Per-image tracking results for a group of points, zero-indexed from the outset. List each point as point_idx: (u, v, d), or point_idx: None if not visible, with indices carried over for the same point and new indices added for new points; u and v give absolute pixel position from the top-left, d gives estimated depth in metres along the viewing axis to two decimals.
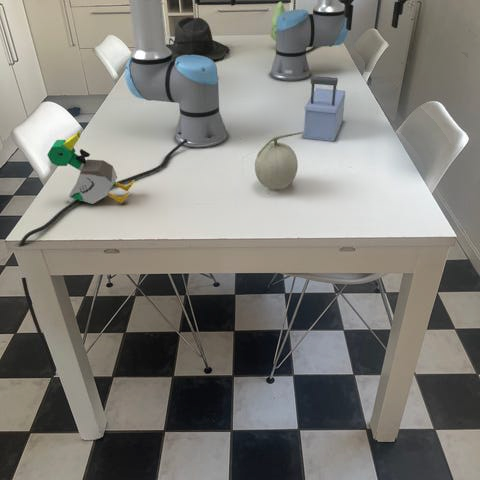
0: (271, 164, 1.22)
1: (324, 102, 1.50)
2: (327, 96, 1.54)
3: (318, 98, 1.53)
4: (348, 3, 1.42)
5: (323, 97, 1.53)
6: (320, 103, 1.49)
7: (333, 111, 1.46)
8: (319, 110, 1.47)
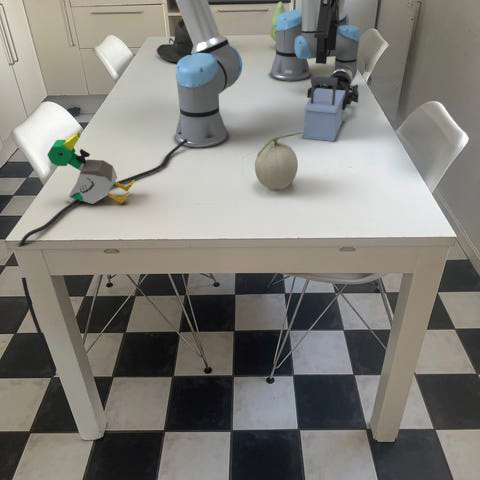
0: (271, 164, 1.22)
1: (324, 102, 1.50)
2: (327, 96, 1.54)
3: (318, 98, 1.53)
4: None
5: (323, 97, 1.53)
6: (320, 103, 1.49)
7: (333, 111, 1.46)
8: (319, 110, 1.47)
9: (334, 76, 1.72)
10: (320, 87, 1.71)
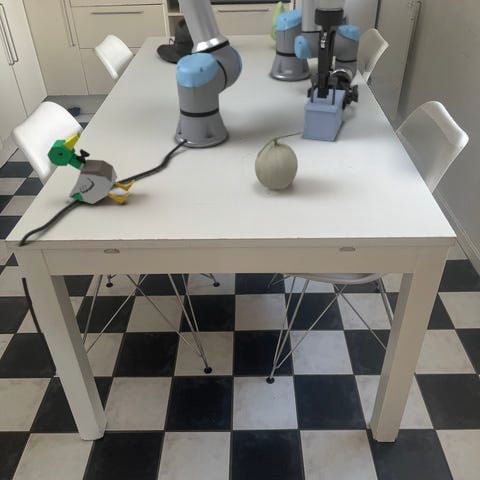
0: (271, 164, 1.22)
1: (324, 102, 1.50)
2: None
3: (318, 98, 1.53)
4: None
5: None
6: (320, 102, 1.49)
7: (333, 110, 1.46)
8: (319, 110, 1.47)
9: (334, 76, 1.72)
10: None
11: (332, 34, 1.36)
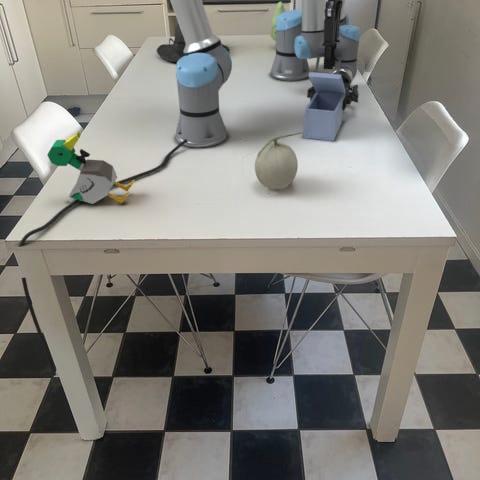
0: (271, 164, 1.22)
1: None
2: None
3: None
4: None
5: None
6: None
7: (337, 77, 1.43)
8: (323, 76, 1.44)
9: None
10: None
11: (338, 3, 1.37)
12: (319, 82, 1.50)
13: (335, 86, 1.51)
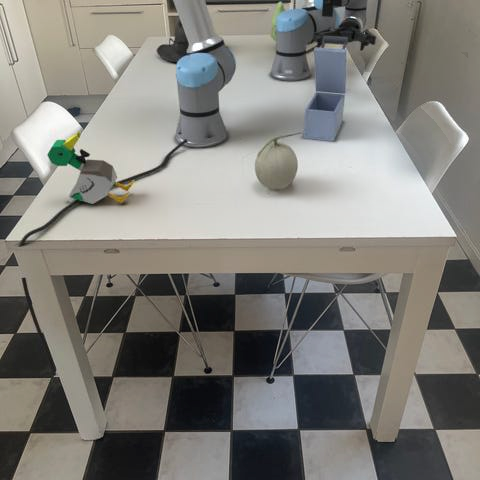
0: (271, 164, 1.22)
1: None
2: None
3: None
4: None
5: None
6: None
7: (343, 51, 1.44)
8: (328, 50, 1.45)
9: (344, 22, 1.73)
10: None
11: None
12: (322, 66, 1.51)
13: (337, 73, 1.52)
